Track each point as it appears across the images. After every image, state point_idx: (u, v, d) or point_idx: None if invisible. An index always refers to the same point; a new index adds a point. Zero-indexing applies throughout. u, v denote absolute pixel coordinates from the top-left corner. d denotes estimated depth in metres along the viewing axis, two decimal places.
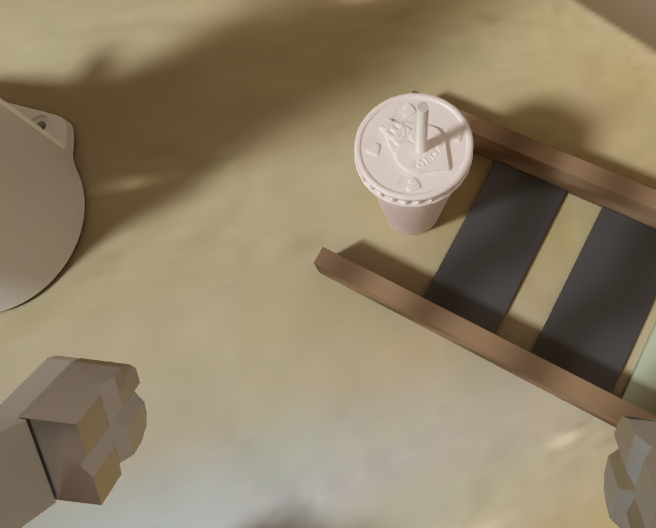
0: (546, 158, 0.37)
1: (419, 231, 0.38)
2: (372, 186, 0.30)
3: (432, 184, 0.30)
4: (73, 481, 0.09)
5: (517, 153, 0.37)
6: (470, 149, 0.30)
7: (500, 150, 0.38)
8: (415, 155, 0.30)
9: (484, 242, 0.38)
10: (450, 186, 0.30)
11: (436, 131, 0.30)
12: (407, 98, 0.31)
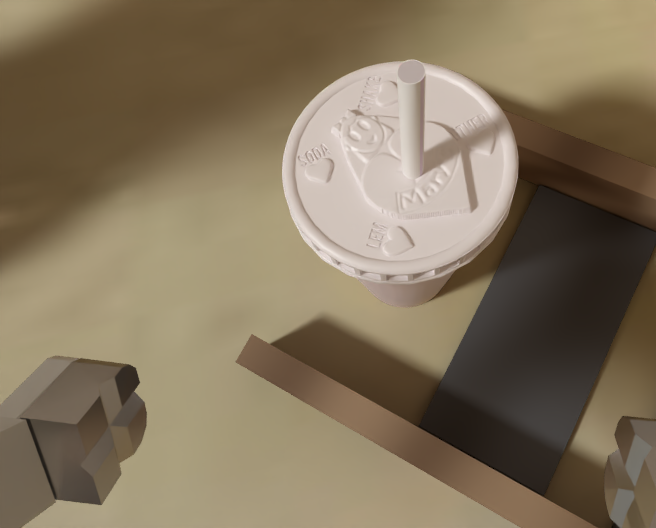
0: (631, 180, 0.21)
1: (415, 303, 0.23)
2: (315, 245, 0.15)
3: (436, 241, 0.15)
4: (73, 481, 0.09)
5: (578, 172, 0.22)
6: (512, 169, 0.15)
7: (550, 167, 0.23)
8: (401, 182, 0.15)
9: (525, 321, 0.23)
10: (473, 245, 0.14)
11: (443, 133, 0.15)
12: (386, 71, 0.16)
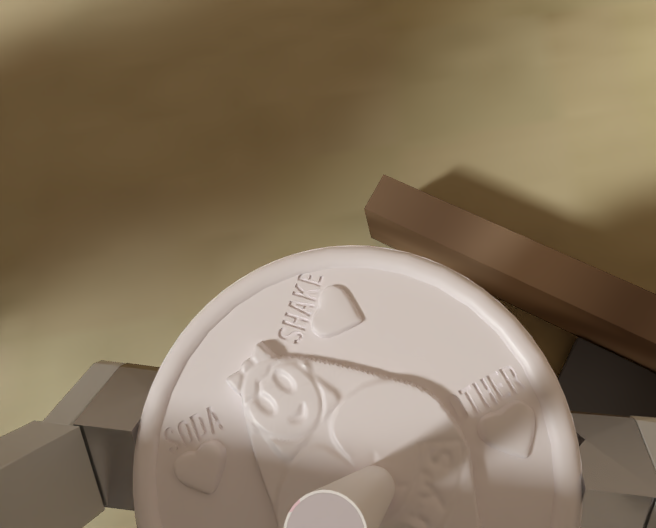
0: None
1: None
2: None
3: None
4: (124, 489, 0.09)
5: (642, 340, 0.15)
6: (572, 498, 0.07)
7: (597, 325, 0.15)
8: None
9: None
10: None
11: (433, 413, 0.08)
12: (331, 264, 0.09)
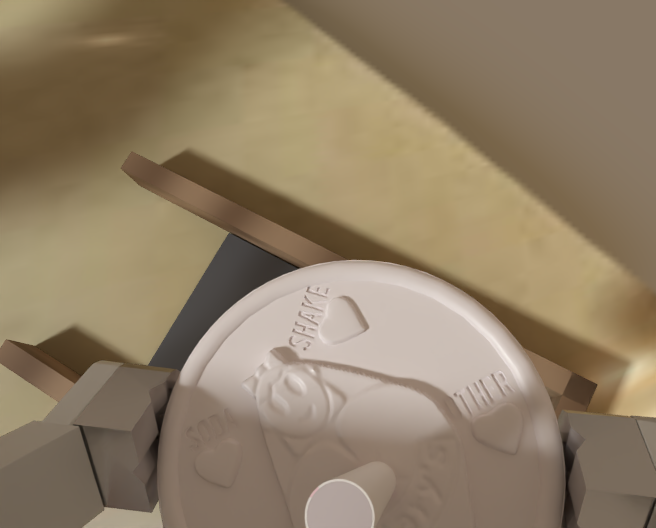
0: (265, 235, 0.31)
1: None
2: None
3: None
4: (124, 488, 0.09)
5: (236, 228, 0.32)
6: (555, 490, 0.08)
7: (222, 223, 0.33)
8: None
9: (204, 330, 0.33)
10: None
11: (431, 414, 0.09)
12: (338, 277, 0.10)
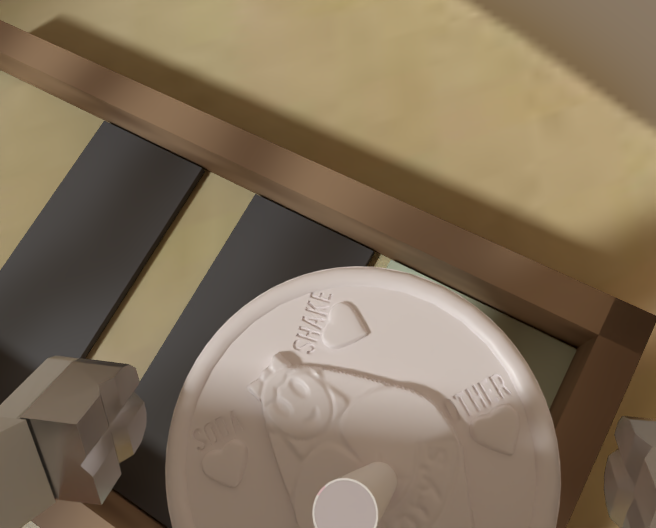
0: (140, 108, 0.21)
1: None
2: None
3: None
4: (73, 481, 0.09)
5: (101, 101, 0.21)
6: (551, 489, 0.09)
7: (86, 98, 0.22)
8: None
9: (58, 257, 0.22)
10: None
11: (430, 416, 0.09)
12: (340, 283, 0.10)
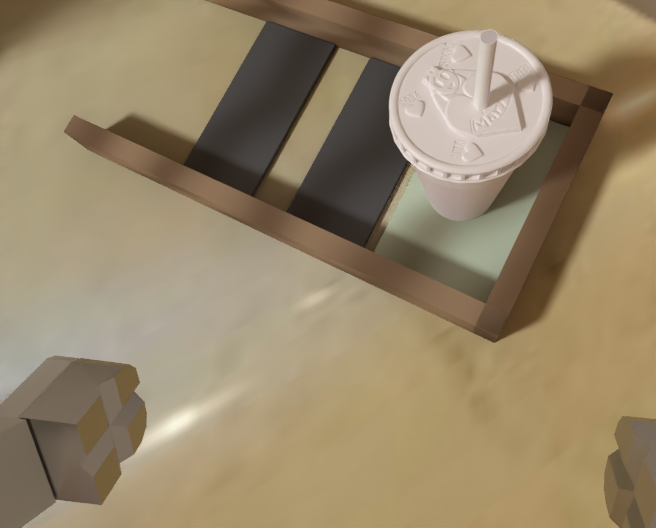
0: (300, 5, 0.34)
1: (472, 216, 0.30)
2: (416, 158, 0.23)
3: (498, 151, 0.22)
4: (73, 481, 0.09)
5: (273, 4, 0.35)
6: (548, 100, 0.22)
7: (261, 3, 0.36)
8: (473, 113, 0.22)
9: (249, 104, 0.36)
10: (524, 152, 0.22)
11: (500, 79, 0.22)
12: (457, 38, 0.23)
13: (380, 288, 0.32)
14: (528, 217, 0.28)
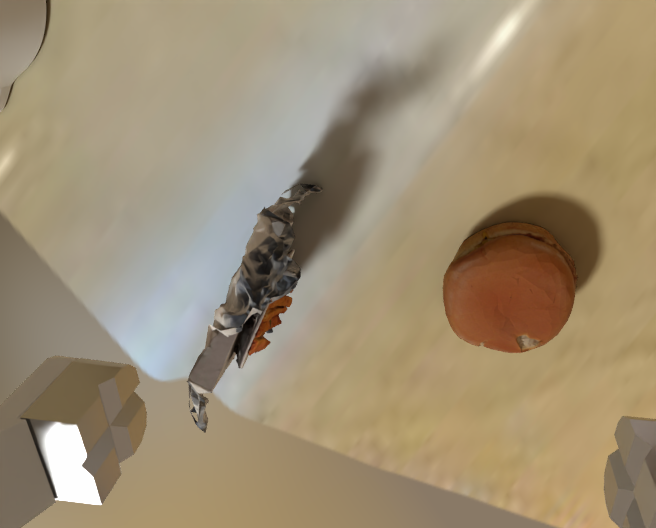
0: None
1: None
2: None
3: None
4: (73, 481, 0.09)
5: None
6: None
7: None
8: None
9: None
10: None
11: None
12: None
13: None
14: None
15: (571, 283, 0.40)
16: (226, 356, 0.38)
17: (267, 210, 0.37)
